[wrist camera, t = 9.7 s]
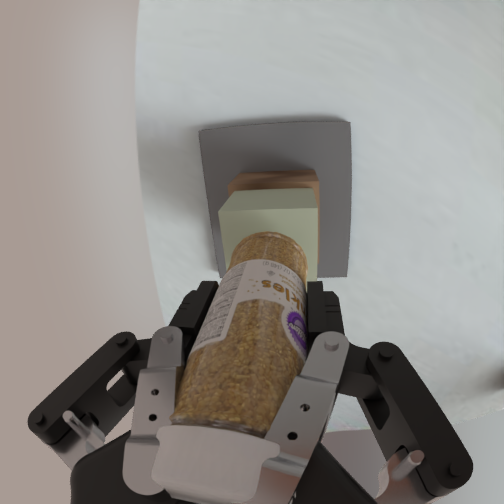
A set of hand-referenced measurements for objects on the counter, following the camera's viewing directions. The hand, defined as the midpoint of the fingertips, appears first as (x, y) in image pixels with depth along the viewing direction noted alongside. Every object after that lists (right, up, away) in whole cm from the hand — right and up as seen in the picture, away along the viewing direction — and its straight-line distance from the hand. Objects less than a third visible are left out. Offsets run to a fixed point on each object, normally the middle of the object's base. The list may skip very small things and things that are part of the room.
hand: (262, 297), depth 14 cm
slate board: (+2, +7, +14) cm, 16 cm away
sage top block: (+1, +4, +9) cm, 10 cm away
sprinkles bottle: (+1, +2, +3) cm, 3 cm away
